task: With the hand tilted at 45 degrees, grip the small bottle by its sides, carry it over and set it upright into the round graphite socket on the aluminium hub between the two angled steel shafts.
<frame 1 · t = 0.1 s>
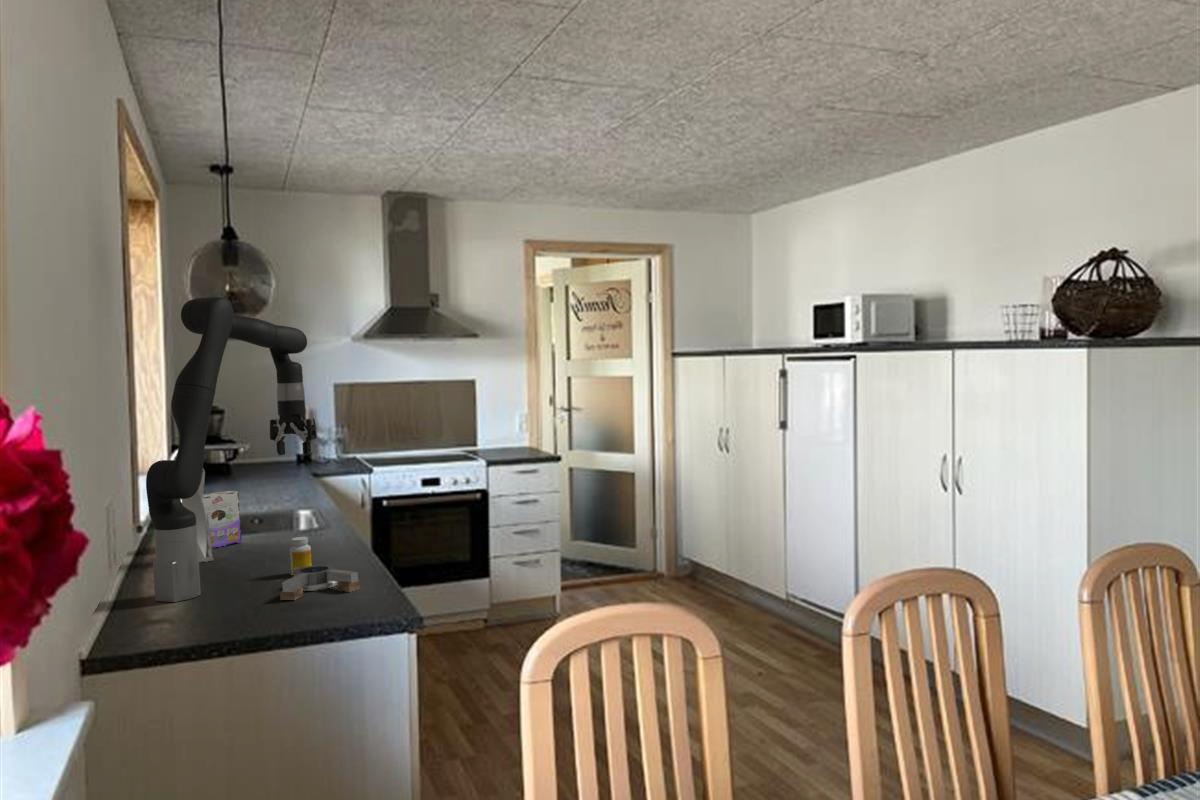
hand: (294, 454, 254), 29 cm above the worktop, tool pointing down, fingers open, 8 cm apart
candy box: (216, 547, 271), on the worktop
angled shafts: (320, 580, 210), on the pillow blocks, point 3 cm above the worktop
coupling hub: (315, 585, 219), on the worktop
supplement bottle: (301, 575, 231), on the worktop
skyscraper: (197, 562, 251), on the worktop
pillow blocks: (315, 585, 219), on the worktop
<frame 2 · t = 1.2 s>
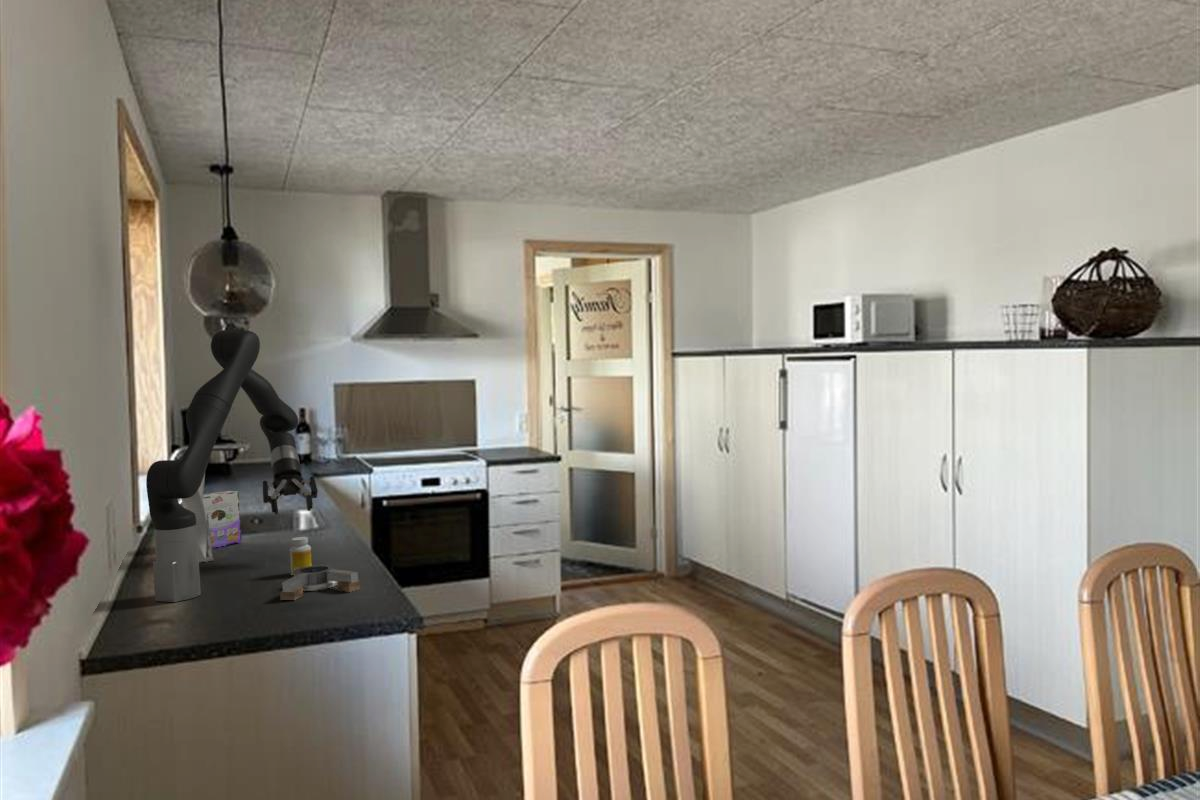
hand: (293, 510, 241), 15 cm above the worktop, tool tilted 45°, fingers open, 8 cm apart
nothing on the worktop moved.
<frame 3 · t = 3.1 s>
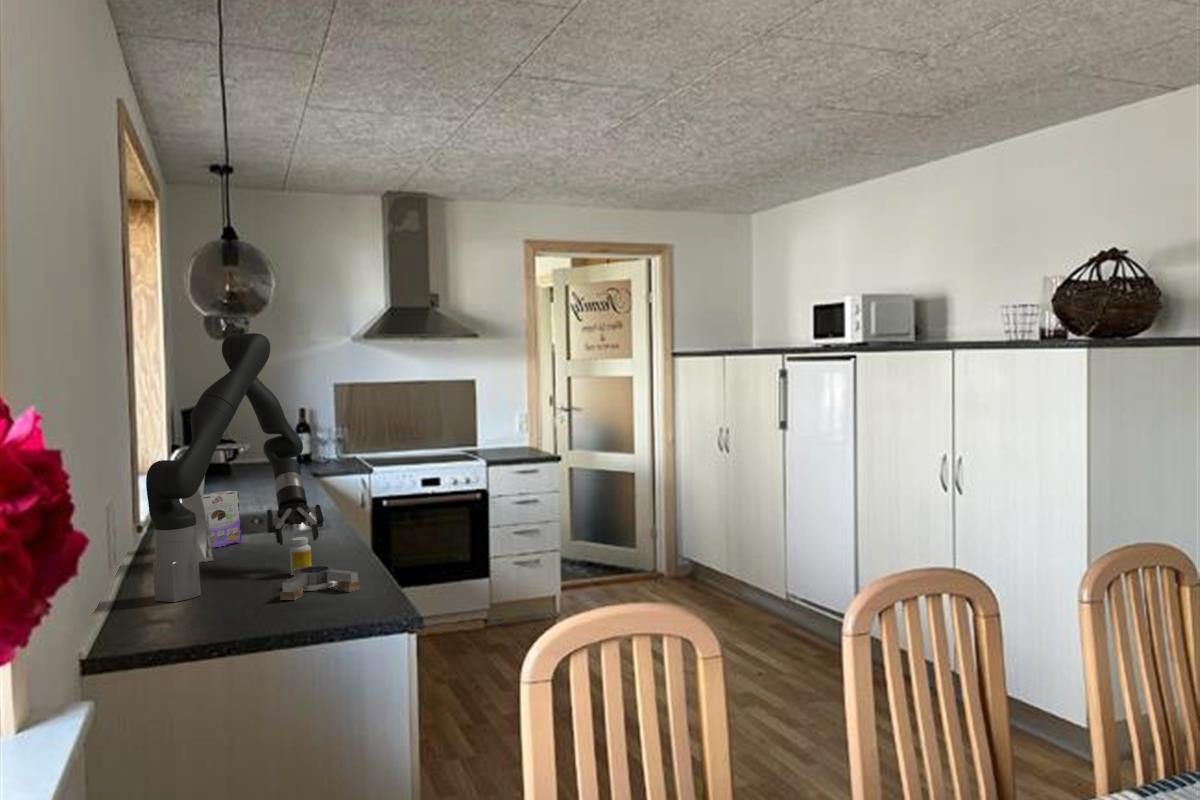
hand: (298, 541, 233), 8 cm above the worktop, tool tilted 45°, fingers open, 8 cm apart
nothing on the worktop moved.
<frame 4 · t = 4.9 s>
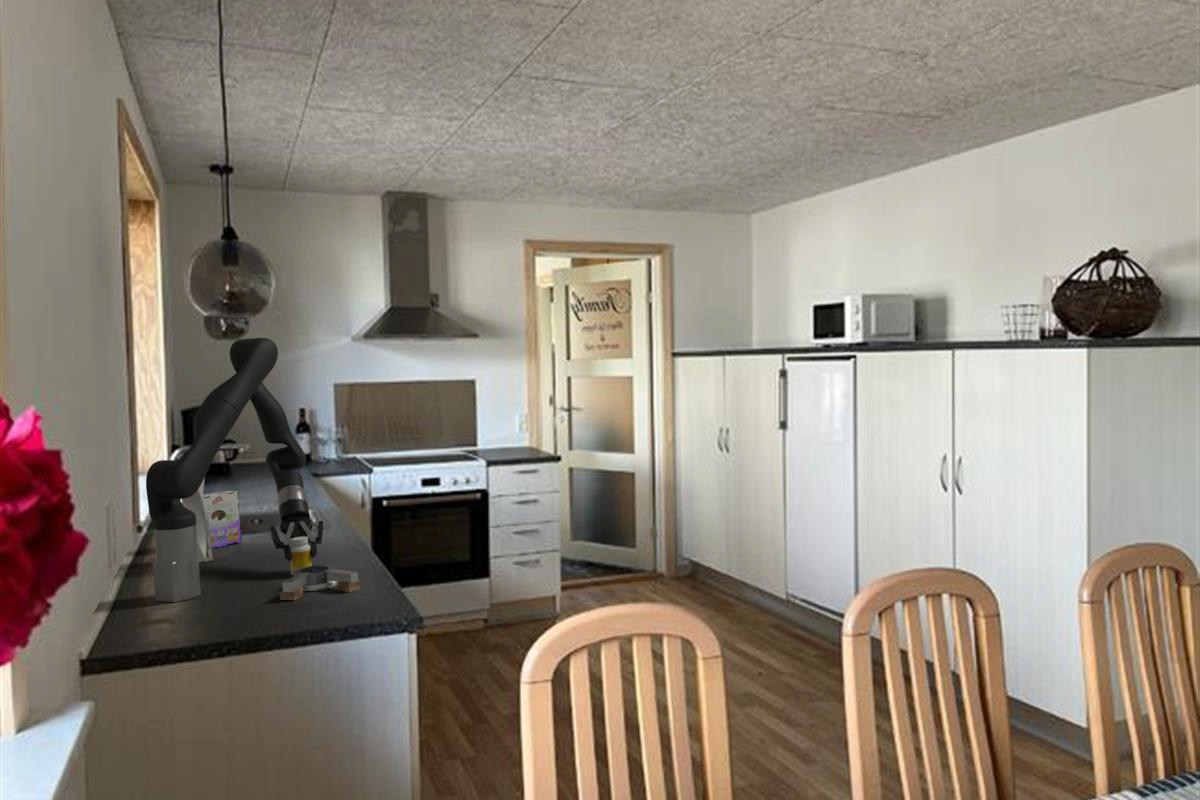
hand: (301, 557, 229), 5 cm above the worktop, tool tilted 45°, fingers closed on supplement bottle, 5 cm apart
supplement bottle: (301, 575, 231), on the worktop, touching gripper
everything else where it was.
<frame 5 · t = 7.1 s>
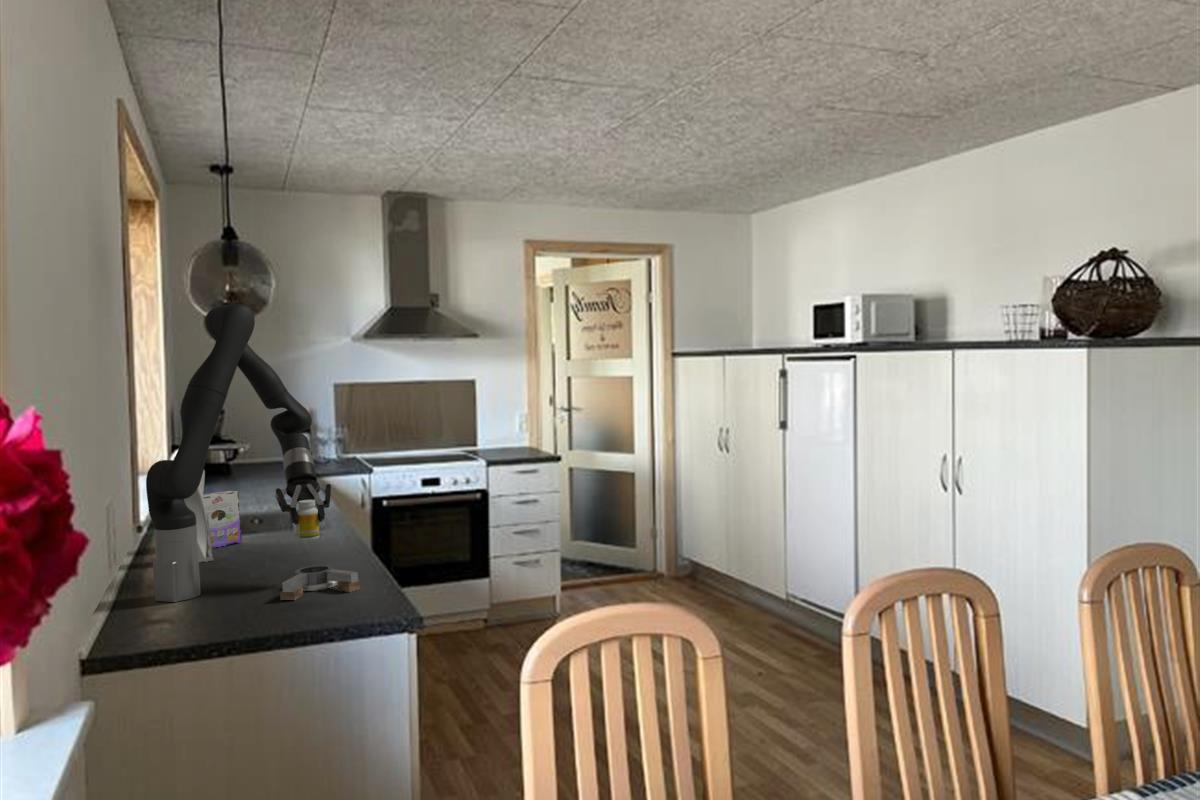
hand: (308, 521, 220), 16 cm above the worktop, tool tilted 45°, fingers closed on supplement bottle, 5 cm apart
supplement bottle: (308, 539, 222), point 11 cm above the worktop, touching gripper
everything else where it was.
when the fingers open (7 cm above the worktop, at t = 9.6 s): supplement bottle drops 1 cm, resting on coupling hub.
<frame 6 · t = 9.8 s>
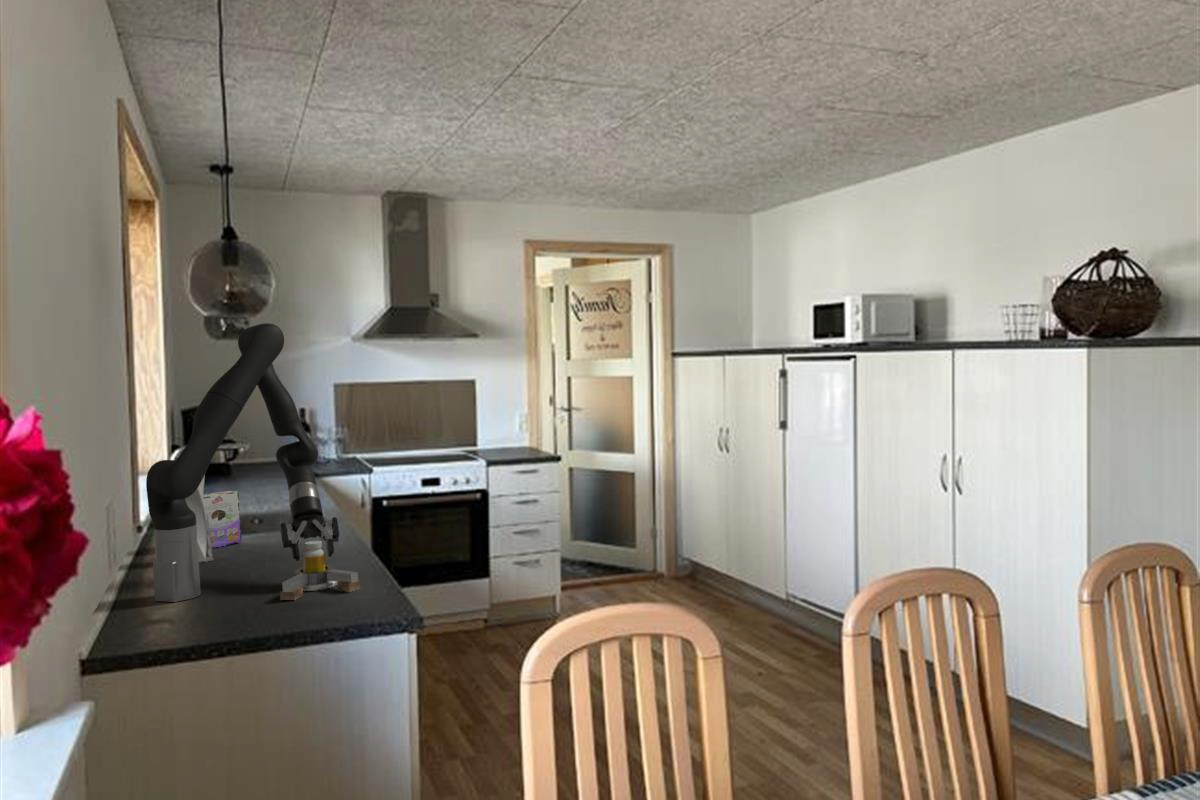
hand: (314, 556, 217), 7 cm above the worktop, tool tilted 45°, fingers open, 7 cm apart
supplement bottle: (314, 581, 219), point 1 cm above the worktop, touching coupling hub
everything else where it was.
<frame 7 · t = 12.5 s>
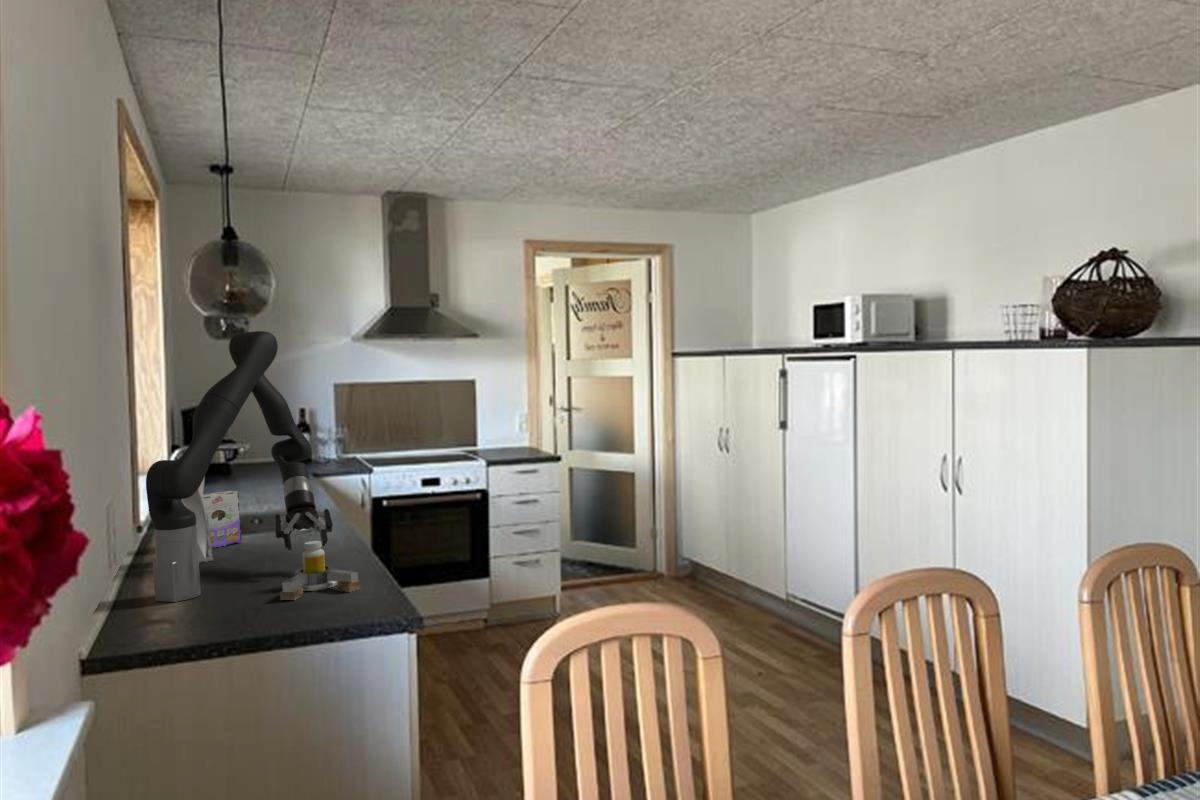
hand: (307, 546, 229), 8 cm above the worktop, tool tilted 45°, fingers open, 8 cm apart
nothing on the worktop moved.
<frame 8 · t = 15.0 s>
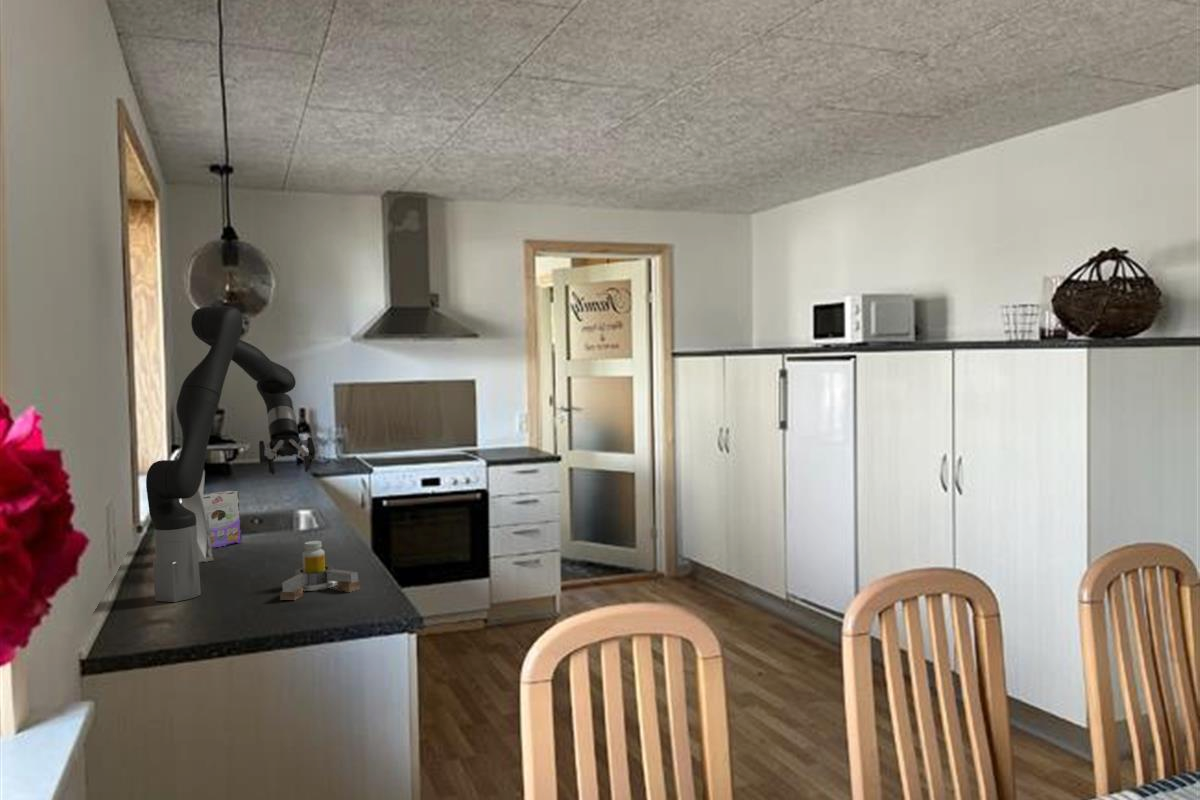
hand: (290, 471, 235), 27 cm above the worktop, tool tilted 45°, fingers open, 8 cm apart
nothing on the worktop moved.
at the end: supplement bottle 0.1 cm off-centre on the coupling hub, point 1.0 cm above the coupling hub's base; supplement bottle tilted 0°; the gripper is holding nothing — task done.
